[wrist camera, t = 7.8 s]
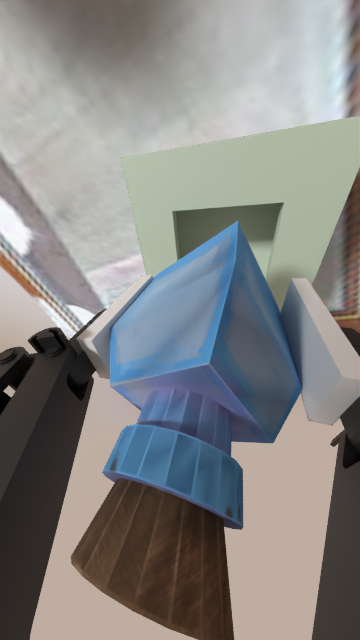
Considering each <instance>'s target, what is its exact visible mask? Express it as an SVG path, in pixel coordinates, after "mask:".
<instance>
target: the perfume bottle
mask: <svg viewBox="0 0 360 640" xmlns="http://www.w3.org/2000/svg"><path fill="white" fill-rule="evenodd" d="M110 386H111V387H112V388H113V389H114V390H116V391H117V392H118V393H119V394H121V395H122V396H124V398H126V399H127V400H128V401H130V402H131V403H132V404H133V405H135V406H136V407H137V408H138V409H139V410H141V413H140V416H139V418H138V420H137V423H136V425H130V426H126V427H125V428H124V429H123V430H122V432H121V434H120V436H119V438H118V440H117V442H116V445H115V447H114V449H113V451H112V453H111V455H110V457H109V459H108V462H107V464H106V466H105V468H104V470H103V474H104V475H105V476H106V477H107V478H109V479H111V480H112V481H113V482H115V484H114V485H113V487H112V489H111V490H110V492H109V494H108V495H107V497H106V499H105V500H104V502H103V504H102V505H101V507H100V509H99V510H98V512H97V514H96V515H95V517H94V519H93V520H92V522H91V524H90V525H89V527H88V529H87V531H86V532H85V534H84V536H83V537H82V539H81V541H80V542H79V544H78V545H77V547H76V549H75V550H74V552H73V554H72V555H71V561H72V565H73V566H74V567H75V568H76V569H77V571H78V572H79V573H80V574H81V575H82V576H83V577H84V578H85V579H86V580H88V581H89V582H90V583H92V584H93V585H94V586H95V587H97V588H98V589H99V590H100V591H102V592H103V593H105V594H106V595H108V596H110V597H111V598H113V599H115V600H116V601H118V602H119V603H121V604H122V605H124V606H126V607H127V608H129V609H131V610H132V611H134V612H136V613H138V614H140V615H142V616H144V617H146V618H148V619H150V620H152V621H154V622H156V623H158V624H160V625H162V626H164V627H166V628H168V629H171V630H174V631H176V632H179V633H182V634H185V635H187V636H190V637H193V638H195V639H198V640H234V633H233V621H232V610H231V601H230V600H231V599H230V589H229V578H228V567H227V556H226V545H225V534H224V527H228V528H232V529H242V528H243V469H242V468H241V467H240V465H239V464H238V463H237V461H236V460H234V459H233V458H232V457H231V441H235V442H256V443H257V442H258V443H273V442H274V441H275V439H276V437H277V435H278V433H279V432H280V430H281V428H282V426H283V424H284V422H285V420H286V419H287V417H288V415H289V413H290V411H291V409H292V408H293V405H294V404H295V402H296V400H297V398H298V396H299V395H300V393H301V391H302V385H301V381H300V378H299V375H298V371H297V368H296V365H295V361H294V358H293V355H292V351H291V348H290V344H289V341H288V338H287V334H286V331H285V328H284V324H283V321H282V318H281V314H280V311H279V307H278V305H277V303H276V301H275V299H274V296H273V294H272V292H271V290H270V288H269V286H268V284H267V282H266V279H265V277H264V275H263V273H262V271H261V269H260V267H259V265H258V262H257V260H256V258H255V256H254V254H253V252H252V250H251V248H250V245H249V243H248V241H247V239H246V237H245V235H244V233H243V231H242V228H241V226H240V224H239V222H238V221H237V222H235V223H234V224H232V225H231V226H229V227H228V228H226V229H225V230H223V231H222V232H220V233H219V234H217V235H216V236H214V237H213V238H211V239H210V240H208V241H207V242H205V243H204V244H202V245H201V246H199V247H198V248H196V249H195V250H193V251H192V252H190V253H189V254H187V255H186V256H184V257H183V258H181V259H180V260H178V261H177V262H175V263H174V264H172V265H171V266H169V267H167V268H166V269H164V270H163V271H161V272H160V273H158V274H157V275H156V276H155V277H154V279H153V280H152V281H151V282H150V283H149V284H148V286H147V287H146V288H145V289H144V290H143V291H142V292H141V293H140V295H139V296H138V297H137V298H136V299H135V300H134V301H133V303H132V304H131V305H130V306H129V307H128V308H127V309H126V310H125V312H124V313H123V314H122V315H121V316H120V317H119V318H118V320H117V321H116V322H115V323H114V324H113V325H112V326H111V327H110Z"/></svg>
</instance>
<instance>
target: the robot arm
mask: <svg viewBox="0 0 360 640" xmlns="http://www.w3.org/2000/svg"><path fill="white" fill-rule="evenodd" d="M152 280H153V276H152V275H142V276H141V277H140V278H139V279H138V280H136V281H135V282H134V283H133V284H132V285H131V286H130V287H129V288H128V289H127V290H126V291H125V292H124V293H123V294H122V295H121V296H120V297H119V298H118V299H117V300H116V301H115V302H114V303H113V304H112V305H111V306H110V307H109V308H107V309H105V310H103V311H101V312H99V313H98V314H97V315H96V316H94V317H93V318H92V320H90V321H89V322H88V323H87V325H85V326H84V327H83V328H82V329H81V330H79V331H78V332H77V333H76V334H75V335H74V336H73V337H72V338H71V339H70V340H69V341H68V339H67V338H66V336H65V335H64V333H63V332H62V330H61V329H60V328H57V327H55V328H48V329H45V330H42V331H40V332H38V333H36V334H35V335H33V336H32V337H31V338H30V339H29V340H28V342H29V343H30V344H31V345H32V347H33V348H34V349H35V350H36V351H37V352H38V353H34V354H29V353H28V352H27V351H26V350H25V349H24V348H23V347H14V348H10V349H7V350H5V351H4V352H2V353H0V640H30V633H31V628H32V624H33V620H34V616H35V612H36V608H37V604H38V600H39V596H40V592H41V588H42V584H43V580H44V576H45V572H46V569H47V565H48V561H49V557H50V553H51V549H52V545H53V541H54V537H55V533H56V529H57V525H58V521H59V517H60V513H61V509H62V505H63V501H64V497H65V493H66V490H67V485H68V482H69V478H70V474H71V470H72V466H73V462H74V458H75V454H76V450H77V446H78V442H79V438H80V434H81V430H82V426H83V422H84V419H85V415H86V411H87V407H88V402H89V399H90V395H91V391H92V387H93V383H94V379H93V377H92V374H93V373H94V372H95V371H97V373H98V374H99V376H100V377H101V378H106V379H110V327H111V326H112V325H113V324H114V323H115V322H116V321H117V320H118V318H119V317H120V316H121V315H122V314H123V313H124V312H125V310H126V309H127V308H128V307H129V306H130V305H131V304H132V303H133V301H134V300H135V299H136V298H137V297H138V296H139V295H140V293H141V292H142V291H143V290H144V289H145V288H146V287H147V286H148V284H149V283H150V282H151V281H152ZM280 314H281V318H282V321H283V324H284V328H285V331H286V334H287V338H288V341H289V344H290V348H291V351H292V355H293V358H294V361H295V365H296V368H297V371H298V375H299V378H300V381H301V385H302V391H301V396H302V400H303V403H304V407H305V410H306V414H307V417H308V420H309V421H315V422H319V423H324V424H329V425H333V424H334V423H335V422H336V421H337V420H338V419H339V418H340V419H341V421H342V423H343V426H344V428H345V429H344V430H343V431H342V432H341V433H340V434H339V435H338V436H336V438H334V439H333V440H332V442H331V444H330V445H332V446H333V447H334V446H336V445H337V444H338V443H339V445H338V452H337V459H336V467H335V474H334V481H333V489H332V496H331V503H330V511H329V518H328V525H327V532H326V540H325V547H324V555H323V562H322V569H321V576H320V584H319V591H318V598H317V605H316V613H315V620H314V627H313V634H312V640H360V334H359V333H358V332H356V331H355V330H353V329H352V328H340V327H339V326H338V324H337V323H336V321H335V320H334V318H333V317H332V315H331V314H330V312H329V311H328V309H327V308H326V306H325V305H324V303H323V302H322V300H321V299H320V297H319V296H318V294H317V293H316V291H315V290H314V289H313V287H312V286H311V284H310V283H309V281H308V280H307V278H291V280H290V284H289V287H288V290H287V293H286V297H285V300H284V303H283V306H282V309H281V313H280ZM8 385H9V386H10V387H11V388H13V389H14V390H15V391H16V392H15V394H14V395H13V396H12V397H10V396H8V395H7V394H6V393H5V392H3V391H4V390H5V389H6V388H7V387H8Z"/></svg>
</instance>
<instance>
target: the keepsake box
mask: <svg viewBox="0 0 360 640" xmlns="http://www.w3.org/2000/svg"><path fill="white" fill-rule="evenodd" d="M120 159H121V163H122V168H123V172H124V177H125V181H126V186H127V190H128V195H129V199H130V204H131V208H132V213H133V217H134V222H135V226H136V231H137V235H138V240H139V244H140V249H141V254H142V258H143V263H144V267H145V272H146V275H152V276H153V279H154V277H155V276H156V275H157V274H158V273H160V272H161V271H163V270H164V269H166V268H167V267H169V266H171V265H172V264H174V263H175V262H177V261H178V260H180V259H181V258H183V257H184V256H186V255H187V254H189V253H190V252H192V251H193V250H195V249H196V248H198V247H199V246H201V245H202V244H204V243H205V242H207V241H208V240H210V239H211V238H213V237H214V236H216V235H217V234H219V233H220V232H222V231H223V230H225V229H226V228H228V227H229V226H231V225H232V224H234V223H235V222H237V221H238V222H239V224H240V226H241V228H242V231H243V233H244V235H245V237H246V239H247V241H248V243H249V245H250V248H251V250H252V252H253V254H254V256H255V258H256V260H257V262H258V265H259V267H260V269H261V271H262V273H263V275H264V277H265V279H266V282H267V284H268V286H269V288H270V290H271V292H272V294H273V296H274V299H275V301H276V303H277V305H278V307H279V311H280V313H281V309H282V306H283V303H284V300H285V297H286V293H287V290H288V287H289V284H290V280H291V278H307V280H308V281H309V283H310V284H311V286H312V284H313V282H314V279H315V277H316V274H317V272H318V269H319V267H320V264H321V262H322V259H323V257H324V254H325V252H326V250H327V247H328V245H329V242H330V240H331V237H332V235H333V232H334V230H335V227H336V225H337V222H338V220H339V217H340V215H341V212H342V210H343V207H344V205H345V202H346V200H347V197H348V195H349V192H350V190H351V187H352V185H353V182H354V180H355V177H356V175H357V172H358V170H359V167H360V116H356V117H351V118H345V119H339V120H334V121H328V122H322V123H317V124H311V125H305V126H300V127H294V128H288V129H283V130H277V131H271V132H266V133H260V134H254V135H249V136H243V137H237V138H232V139H226V140H220V141H215V142H209V143H204V144H198V145H192V146H187V147H181V148H175V149H170V150H164V151H158V152H153V153H147V154H141V155H136V156H130V157H124V158H120Z"/></svg>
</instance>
